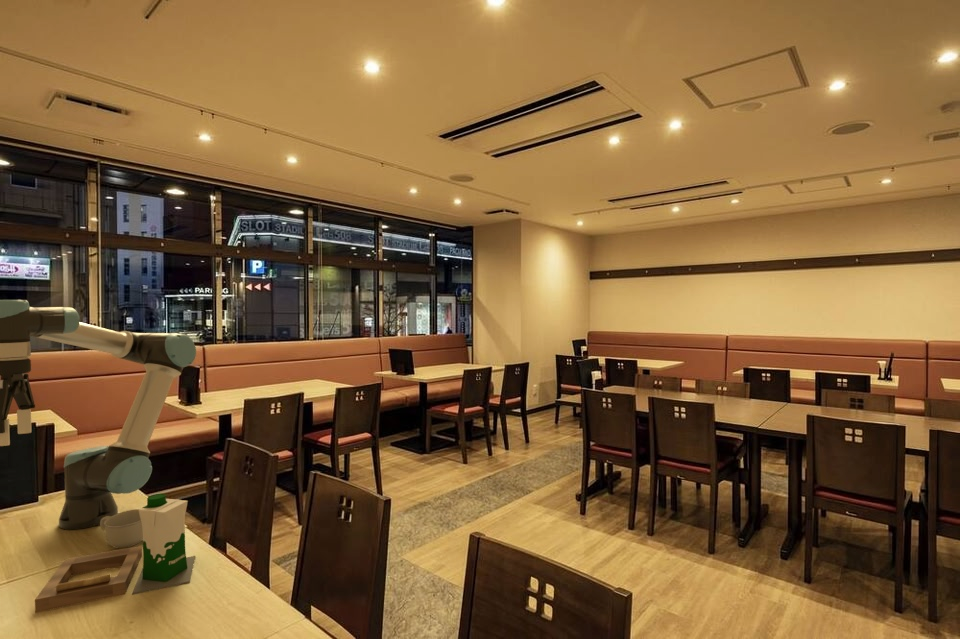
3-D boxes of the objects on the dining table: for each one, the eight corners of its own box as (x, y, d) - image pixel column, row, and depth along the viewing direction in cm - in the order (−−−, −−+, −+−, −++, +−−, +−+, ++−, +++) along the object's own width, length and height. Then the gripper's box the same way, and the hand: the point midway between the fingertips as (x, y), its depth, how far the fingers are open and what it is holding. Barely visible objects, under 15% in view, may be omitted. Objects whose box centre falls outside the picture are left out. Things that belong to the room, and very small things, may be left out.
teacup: (158, 538, 149) (157, 511, 149) (122, 555, 139) (121, 526, 138) (125, 531, 153) (124, 505, 153) (87, 547, 143) (87, 520, 143)
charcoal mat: (143, 566, 132) (143, 565, 132) (195, 557, 137) (195, 555, 137) (132, 594, 119) (132, 592, 119) (189, 582, 124) (189, 581, 124)
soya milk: (164, 563, 133) (162, 489, 133) (193, 566, 131) (191, 491, 131) (135, 581, 125) (133, 502, 124) (166, 584, 123) (164, 505, 122)
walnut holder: (65, 570, 131) (64, 553, 131) (142, 556, 138) (141, 539, 138) (35, 612, 113) (34, 592, 112) (125, 594, 120) (125, 575, 120)
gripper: (13, 355, 140) (15, 430, 140) (-33, 364, 117) (-30, 453, 118) (47, 353, 143) (49, 427, 143) (8, 362, 120) (11, 449, 121)
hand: (14, 439), depth 130 cm, fingers open, 13 cm apart
